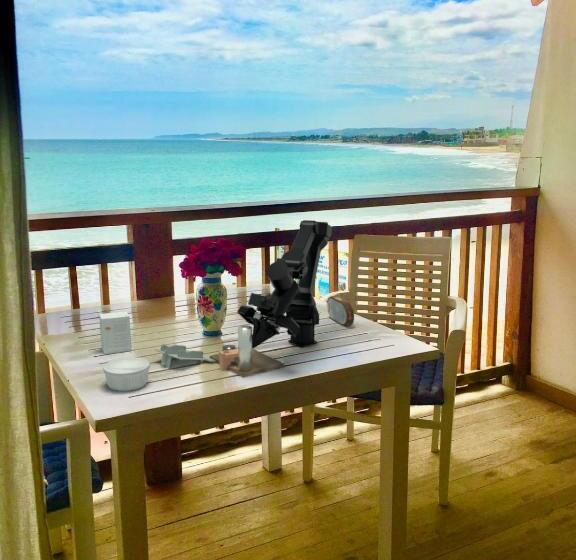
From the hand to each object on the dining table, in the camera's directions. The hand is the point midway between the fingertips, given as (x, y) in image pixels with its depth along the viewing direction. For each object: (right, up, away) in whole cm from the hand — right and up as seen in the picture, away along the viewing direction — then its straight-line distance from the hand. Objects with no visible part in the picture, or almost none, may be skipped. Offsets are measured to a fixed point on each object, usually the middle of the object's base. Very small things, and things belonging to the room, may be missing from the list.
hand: (251, 347), depth 167 cm
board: (-2, -5, +8) cm, 9 cm away
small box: (-40, -3, +18) cm, 44 cm away
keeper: (-5, -6, +4) cm, 8 cm away
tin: (+26, +3, +46) cm, 53 cm away
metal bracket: (-19, -5, +9) cm, 22 cm away
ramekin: (-30, -9, -7) cm, 32 cm away
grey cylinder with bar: (-4, -4, +5) cm, 8 cm away
